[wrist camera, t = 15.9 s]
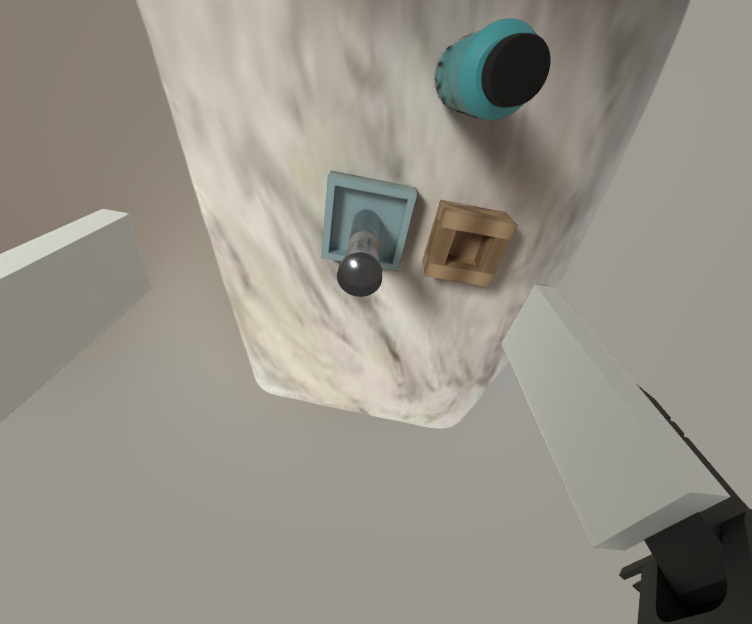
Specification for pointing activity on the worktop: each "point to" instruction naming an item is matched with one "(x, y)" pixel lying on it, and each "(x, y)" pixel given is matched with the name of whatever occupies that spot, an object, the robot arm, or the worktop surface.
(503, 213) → the socket block
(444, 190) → the worktop surface
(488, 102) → the beverage bottle
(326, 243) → the tray
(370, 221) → the steel pin
